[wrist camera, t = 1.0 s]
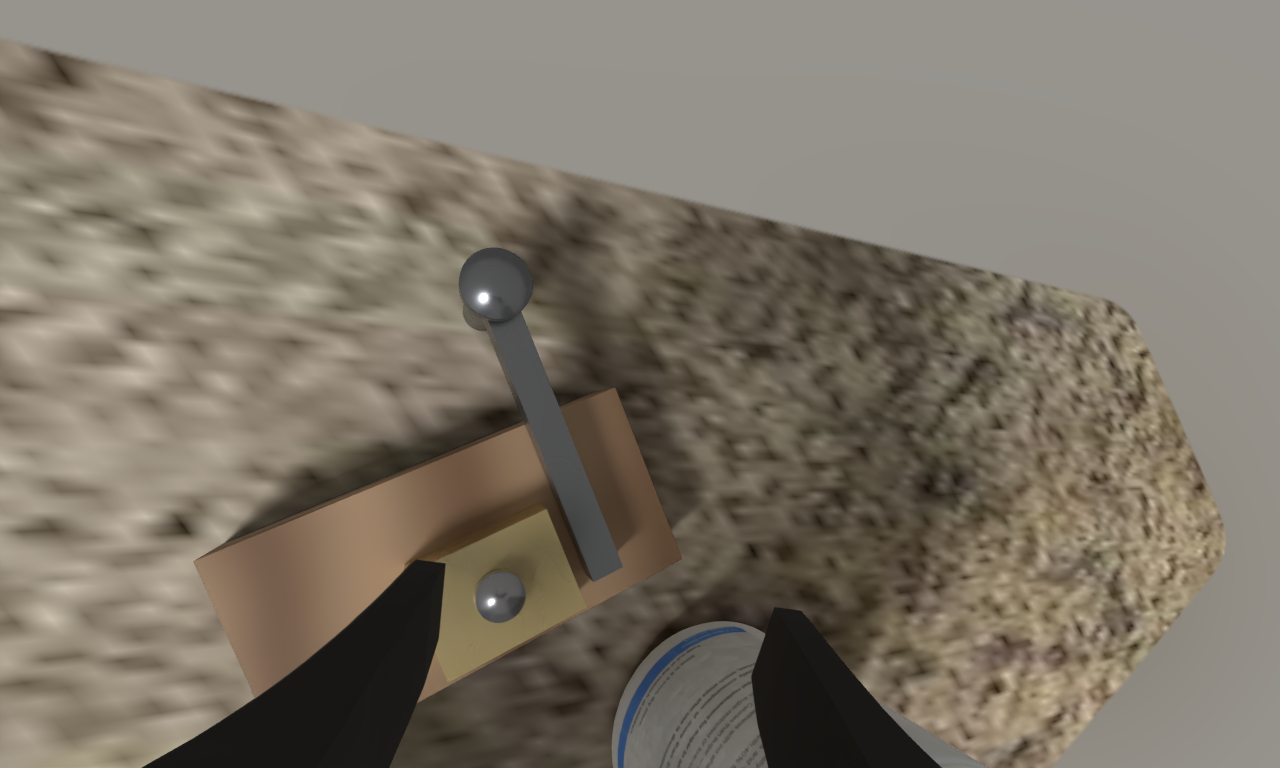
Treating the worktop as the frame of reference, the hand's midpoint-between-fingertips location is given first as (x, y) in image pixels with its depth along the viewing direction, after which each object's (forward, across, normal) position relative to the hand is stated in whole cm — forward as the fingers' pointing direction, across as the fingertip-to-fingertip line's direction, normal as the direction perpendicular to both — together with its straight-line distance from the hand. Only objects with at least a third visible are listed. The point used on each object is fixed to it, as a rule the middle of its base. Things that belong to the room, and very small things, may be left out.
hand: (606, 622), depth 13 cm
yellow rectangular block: (+8, +3, +6) cm, 10 cm away
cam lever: (+13, +3, +2) cm, 14 cm away
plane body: (+10, +5, +6) cm, 13 cm away
